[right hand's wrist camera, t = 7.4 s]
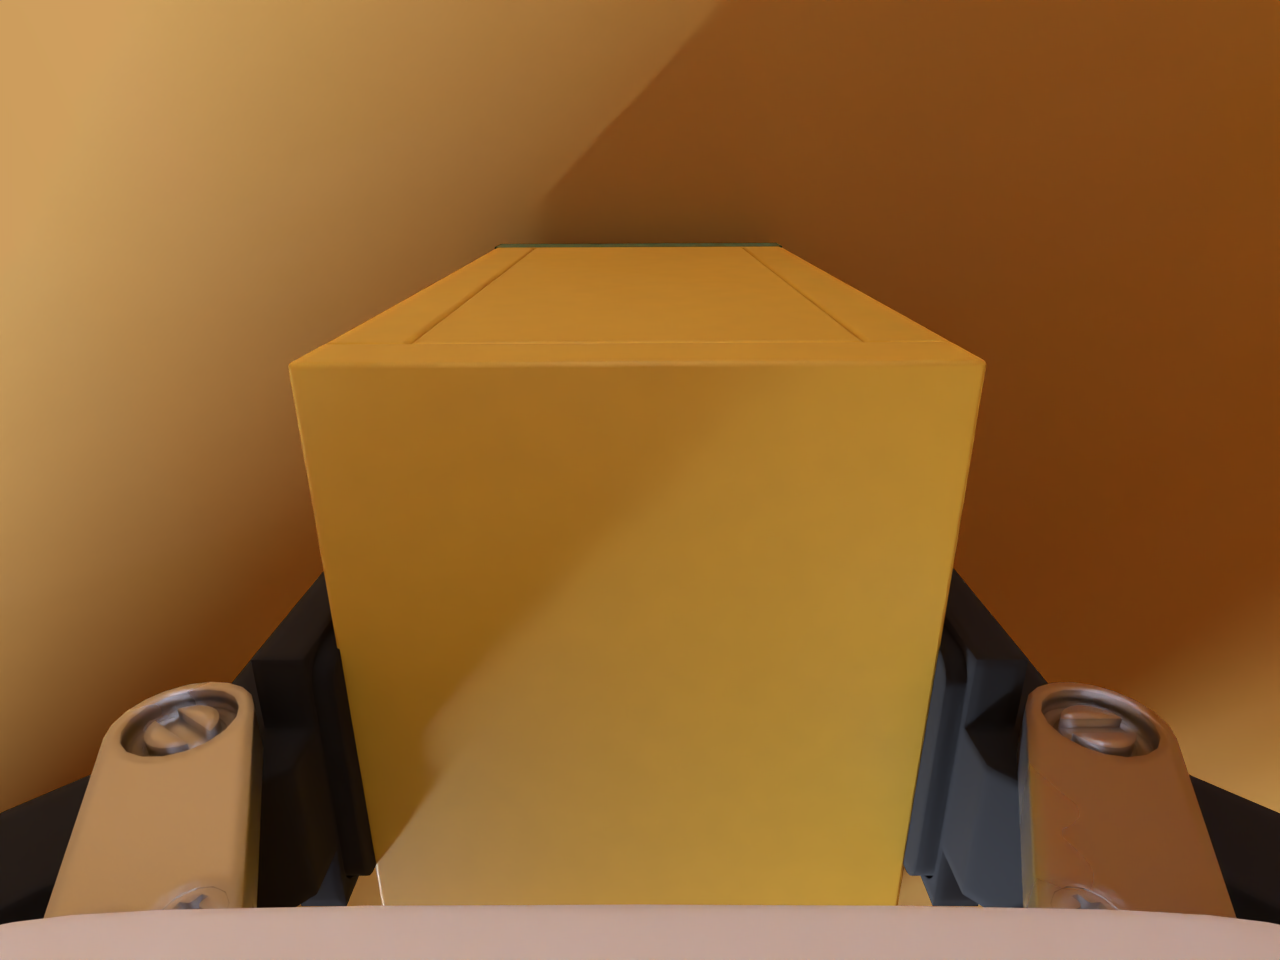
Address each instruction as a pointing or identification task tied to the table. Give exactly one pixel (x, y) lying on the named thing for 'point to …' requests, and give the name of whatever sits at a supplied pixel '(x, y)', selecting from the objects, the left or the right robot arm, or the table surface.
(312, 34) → the table surface
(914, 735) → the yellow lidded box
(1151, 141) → the table surface
